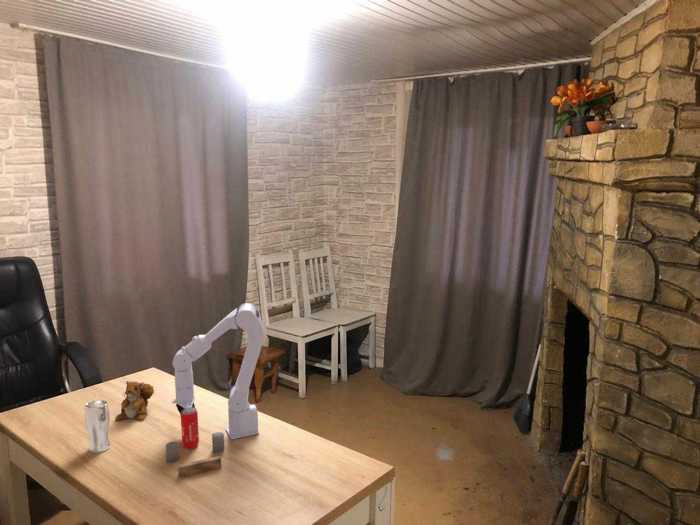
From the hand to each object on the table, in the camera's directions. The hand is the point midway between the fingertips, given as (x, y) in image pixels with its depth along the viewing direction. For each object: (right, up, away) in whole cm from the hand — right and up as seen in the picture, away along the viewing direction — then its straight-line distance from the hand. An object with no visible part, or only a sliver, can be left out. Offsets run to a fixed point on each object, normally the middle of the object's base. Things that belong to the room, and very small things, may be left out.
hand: (186, 424), depth 181 cm
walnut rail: (+10, -8, -20) cm, 24 cm away
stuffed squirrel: (-23, -1, +16) cm, 28 cm away
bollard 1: (0, -7, -14) cm, 15 cm away
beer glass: (-25, -6, -7) cm, 27 cm away
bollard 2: (+13, -6, -8) cm, 16 cm away
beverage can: (+3, -5, -5) cm, 8 cm away
